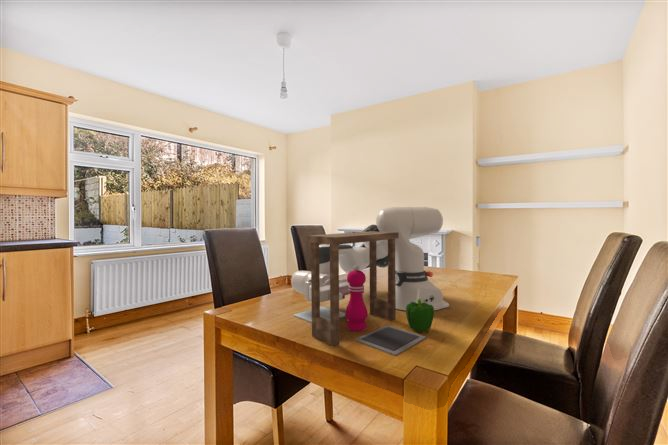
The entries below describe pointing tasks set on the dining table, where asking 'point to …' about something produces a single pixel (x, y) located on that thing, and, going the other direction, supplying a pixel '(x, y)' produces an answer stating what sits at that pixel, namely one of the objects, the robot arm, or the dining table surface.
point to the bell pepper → (419, 316)
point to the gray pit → (390, 339)
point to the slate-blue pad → (323, 313)
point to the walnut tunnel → (378, 307)
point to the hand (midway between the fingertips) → (353, 293)
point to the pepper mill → (356, 301)
